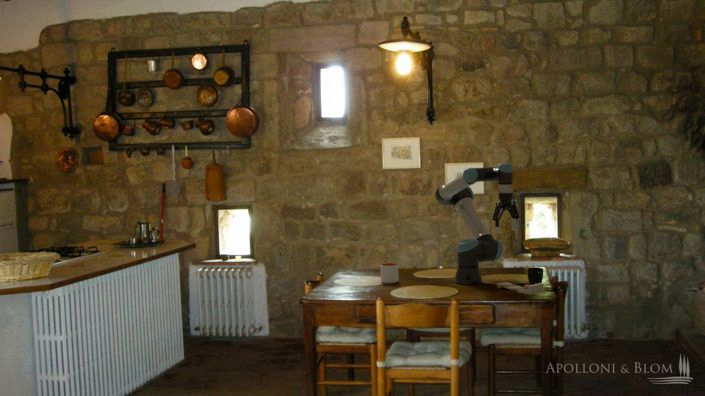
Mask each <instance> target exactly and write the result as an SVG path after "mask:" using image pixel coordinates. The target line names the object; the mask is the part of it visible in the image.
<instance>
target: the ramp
mask: <svg viewBox="0 0 705 396" xmlns="http://www.w3.org/2000/svg"><path fill="white" fill-rule="evenodd" d="M495 286H496V288H497V289H503V288H504V289H508V290H511V291H514V292H517V289H524V286H520V285H517V284H514V283H510V282H508V281H506V280H503V281H500V282H496V283H495Z"/></svg>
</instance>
